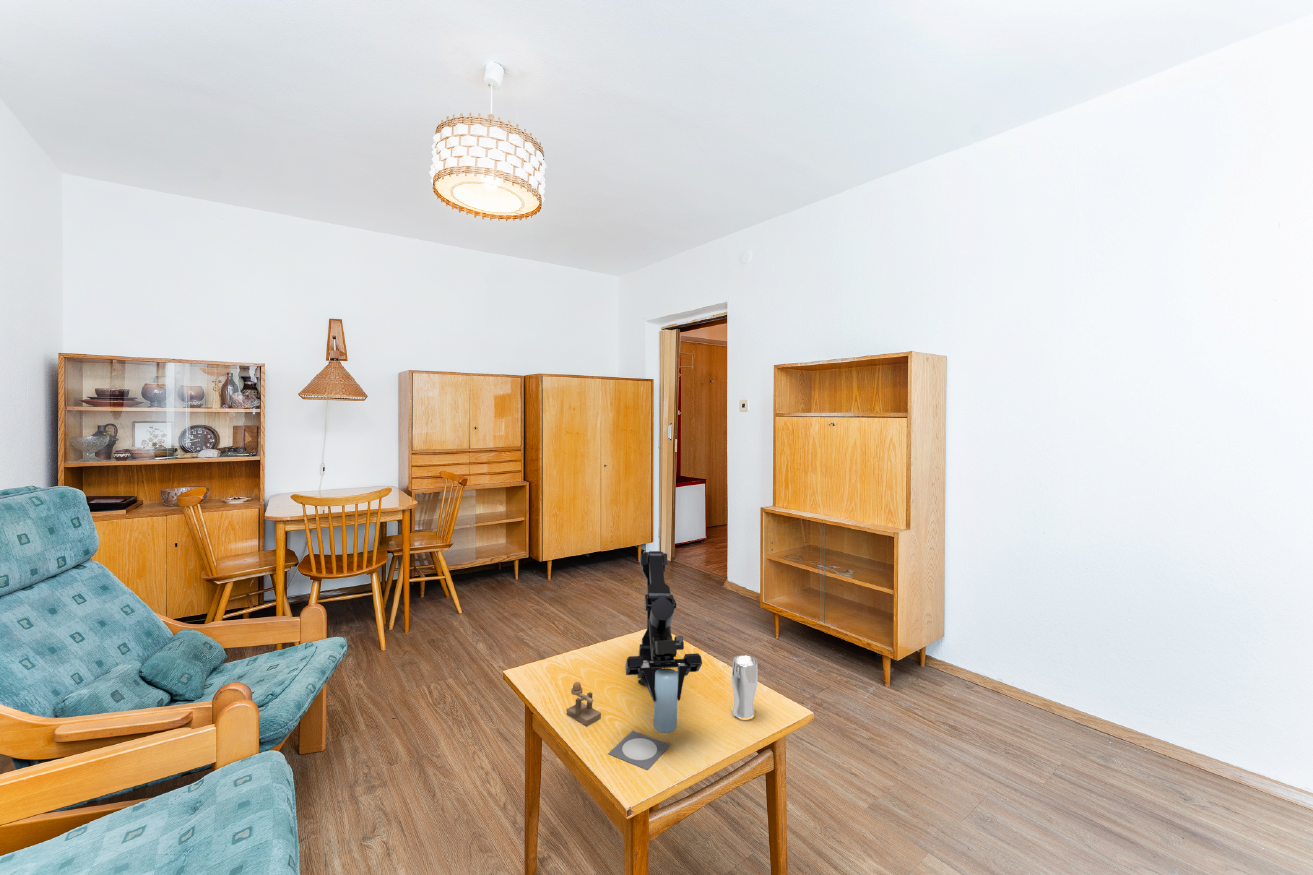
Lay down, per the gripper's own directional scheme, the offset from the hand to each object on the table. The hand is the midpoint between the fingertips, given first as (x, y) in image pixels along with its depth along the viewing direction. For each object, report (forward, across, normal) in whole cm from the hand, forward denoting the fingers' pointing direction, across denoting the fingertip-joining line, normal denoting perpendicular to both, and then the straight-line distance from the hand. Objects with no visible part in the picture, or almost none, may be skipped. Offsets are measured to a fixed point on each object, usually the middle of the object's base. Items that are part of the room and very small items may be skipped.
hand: (666, 700), depth 128 cm
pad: (+8, -6, +10) cm, 14 cm away
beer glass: (0, +24, +18) cm, 30 cm away
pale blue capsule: (+4, 0, +6) cm, 7 cm away
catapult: (-3, -19, +21) cm, 29 cm away
